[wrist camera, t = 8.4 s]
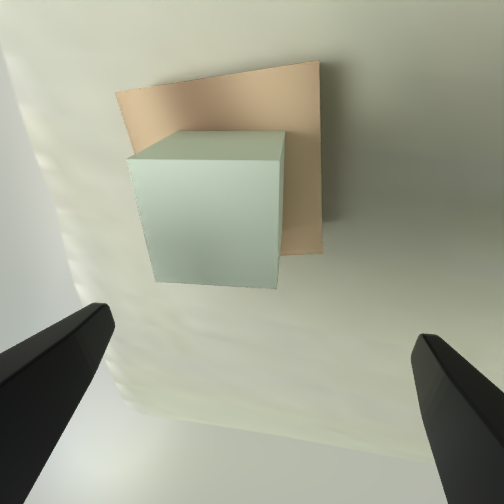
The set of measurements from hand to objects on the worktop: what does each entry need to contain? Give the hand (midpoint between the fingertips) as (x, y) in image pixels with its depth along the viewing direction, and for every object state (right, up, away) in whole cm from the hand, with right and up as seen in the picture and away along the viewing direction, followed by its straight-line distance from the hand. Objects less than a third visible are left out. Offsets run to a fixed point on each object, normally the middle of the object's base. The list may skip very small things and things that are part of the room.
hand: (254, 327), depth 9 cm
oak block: (-1, +8, +10) cm, 12 cm away
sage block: (-1, +6, +6) cm, 8 cm away
